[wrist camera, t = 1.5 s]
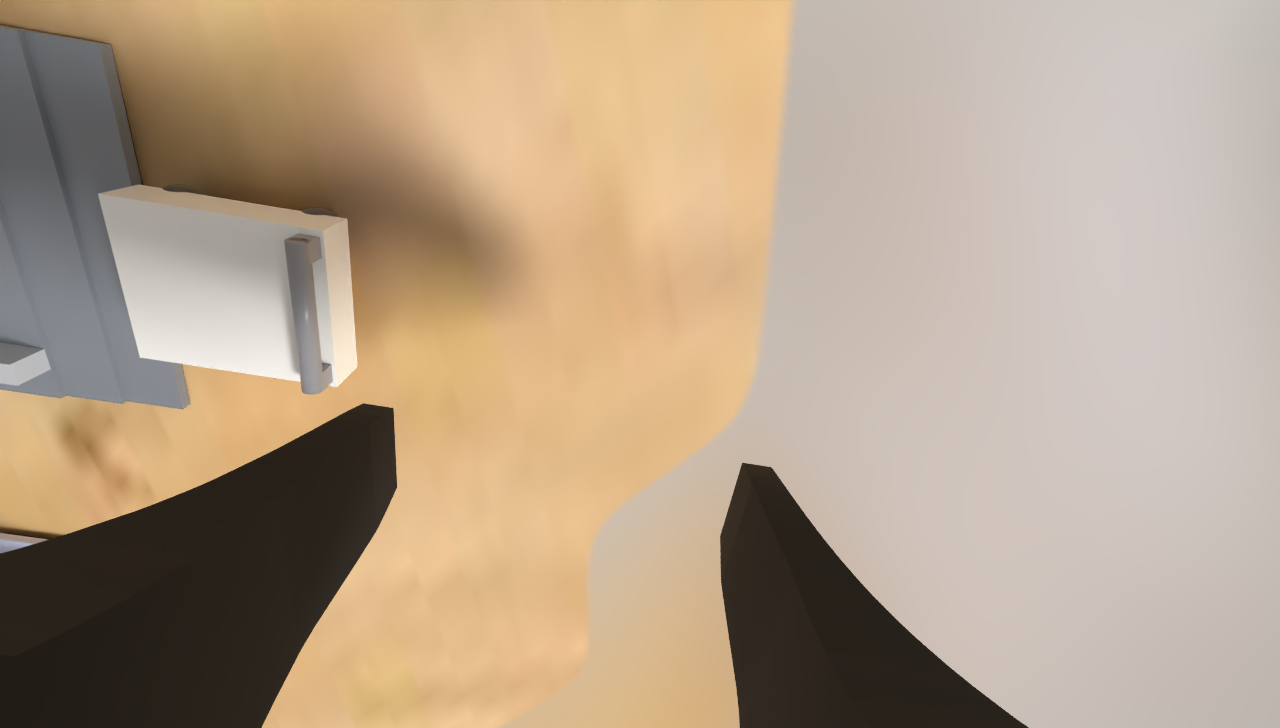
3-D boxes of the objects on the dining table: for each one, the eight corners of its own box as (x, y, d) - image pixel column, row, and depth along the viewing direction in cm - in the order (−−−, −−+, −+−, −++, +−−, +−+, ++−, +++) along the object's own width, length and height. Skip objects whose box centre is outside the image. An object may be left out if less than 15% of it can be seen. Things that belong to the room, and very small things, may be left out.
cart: (370, 356, 20) (322, 404, 18) (195, 329, 20) (116, 373, 17) (362, 208, 18) (305, 235, 15) (163, 175, 18) (66, 196, 15)
